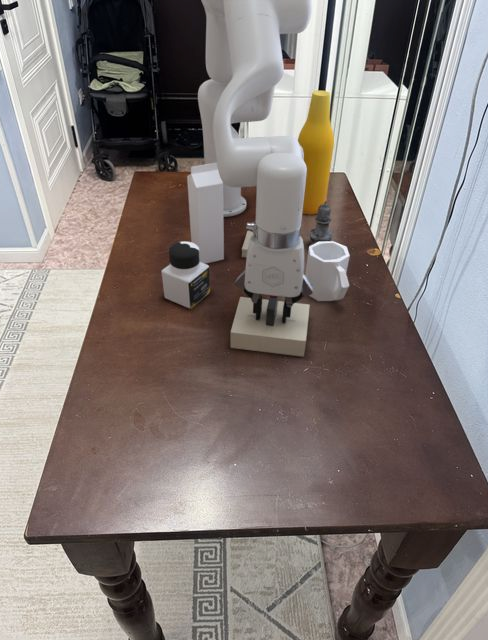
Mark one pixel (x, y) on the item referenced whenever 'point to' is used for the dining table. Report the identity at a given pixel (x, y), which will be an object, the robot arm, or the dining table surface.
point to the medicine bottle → (185, 275)
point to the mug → (327, 270)
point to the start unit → (246, 243)
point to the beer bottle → (317, 151)
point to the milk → (206, 211)
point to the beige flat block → (270, 329)
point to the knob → (271, 310)
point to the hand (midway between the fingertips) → (271, 316)
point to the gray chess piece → (321, 225)
